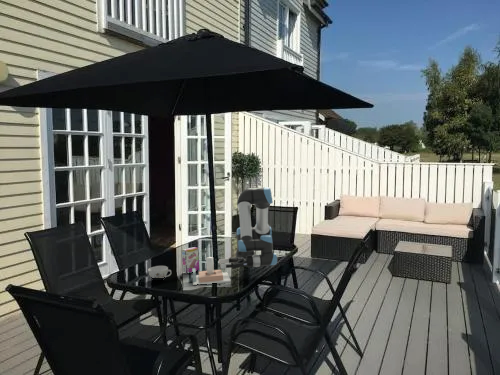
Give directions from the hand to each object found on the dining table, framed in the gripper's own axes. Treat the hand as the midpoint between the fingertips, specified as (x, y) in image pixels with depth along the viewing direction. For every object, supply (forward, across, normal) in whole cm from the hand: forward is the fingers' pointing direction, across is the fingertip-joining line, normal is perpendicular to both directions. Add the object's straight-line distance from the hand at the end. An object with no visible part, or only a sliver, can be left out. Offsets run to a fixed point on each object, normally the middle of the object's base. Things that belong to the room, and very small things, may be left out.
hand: (219, 263), depth 270 cm
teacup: (+38, +10, -10) cm, 41 cm away
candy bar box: (+18, +23, -10) cm, 31 cm away
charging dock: (+6, 0, -10) cm, 11 cm away
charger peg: (+6, 0, -9) cm, 10 cm away
